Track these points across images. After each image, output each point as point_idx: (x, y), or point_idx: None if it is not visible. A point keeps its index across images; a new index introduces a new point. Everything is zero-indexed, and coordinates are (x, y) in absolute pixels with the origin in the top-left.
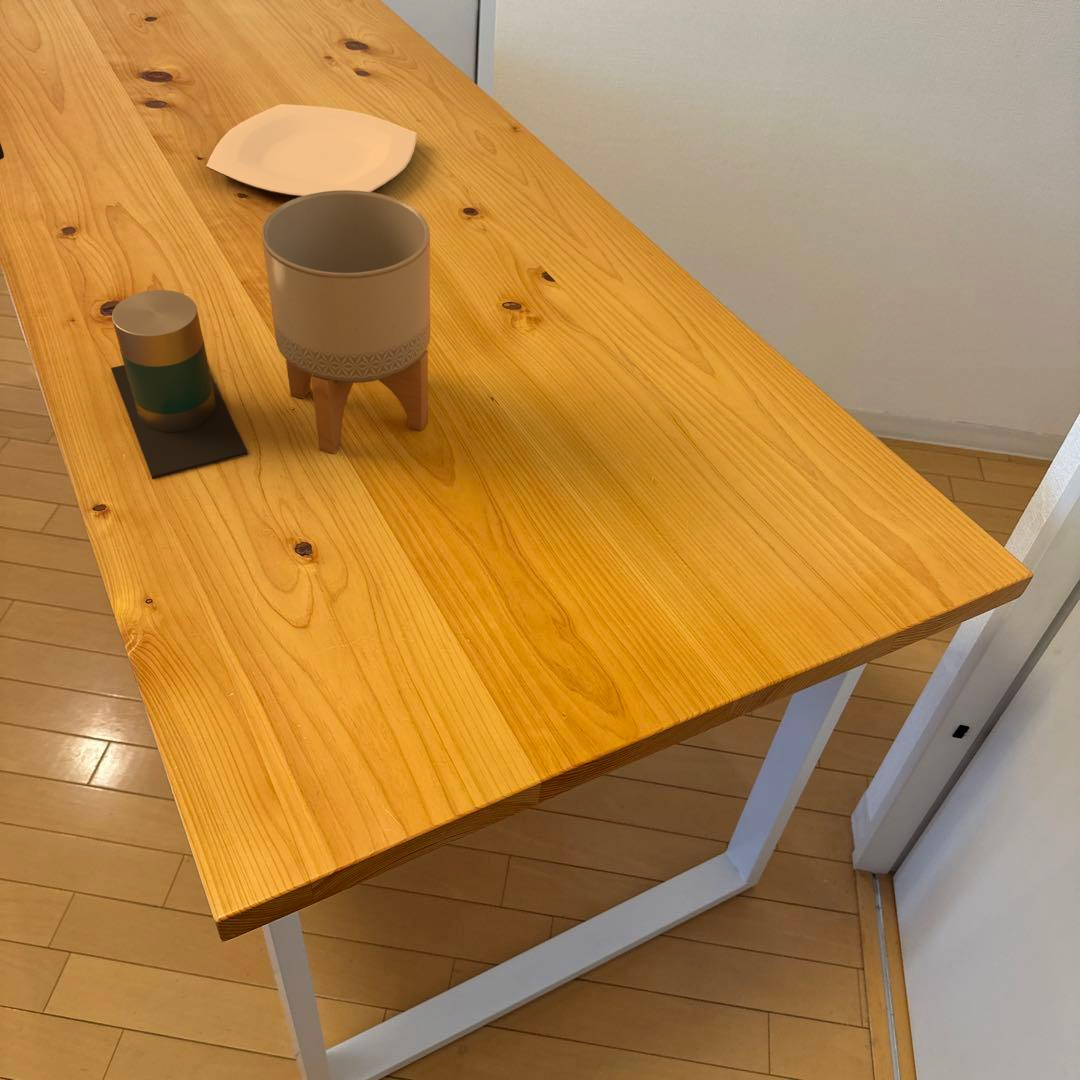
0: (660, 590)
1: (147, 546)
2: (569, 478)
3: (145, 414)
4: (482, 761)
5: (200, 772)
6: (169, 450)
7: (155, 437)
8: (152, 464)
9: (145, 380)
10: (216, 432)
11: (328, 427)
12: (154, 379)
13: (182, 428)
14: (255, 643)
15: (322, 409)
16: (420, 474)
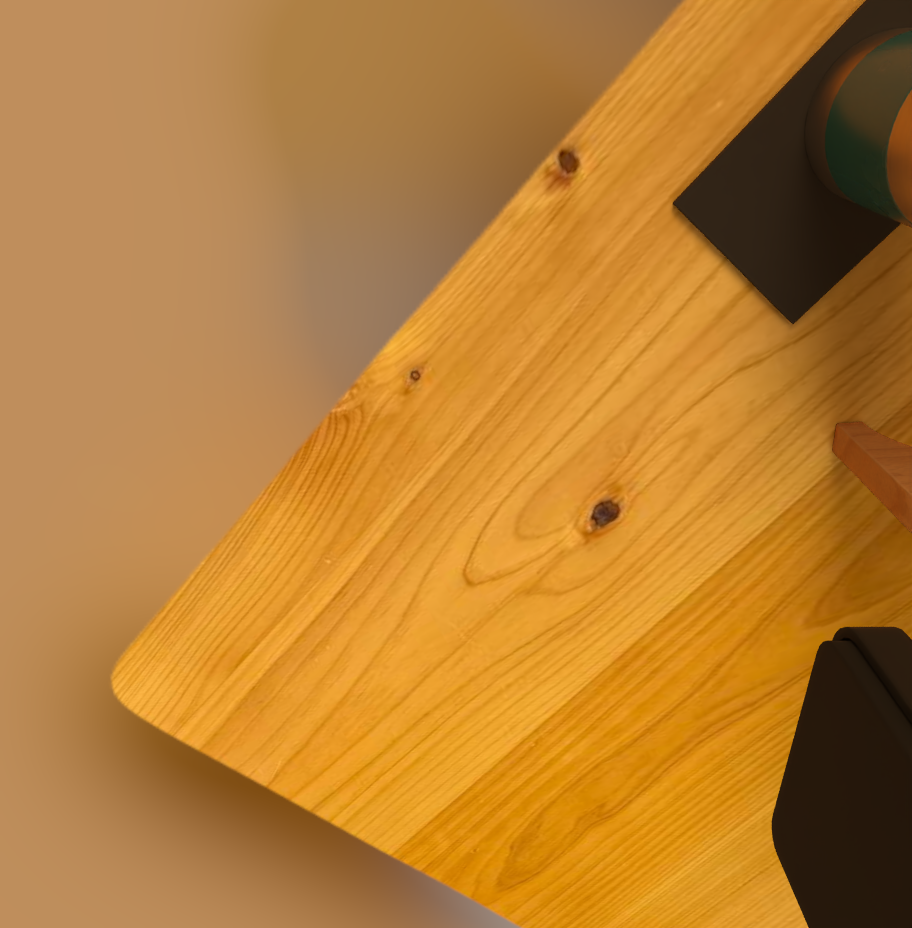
0: (691, 875)
1: (516, 301)
2: None
3: (825, 105)
4: (381, 810)
5: (212, 589)
6: (754, 188)
7: (783, 136)
8: (706, 183)
9: (865, 146)
10: (830, 240)
11: (858, 473)
12: (869, 171)
13: (820, 178)
14: (414, 544)
15: (879, 483)
16: (819, 581)
